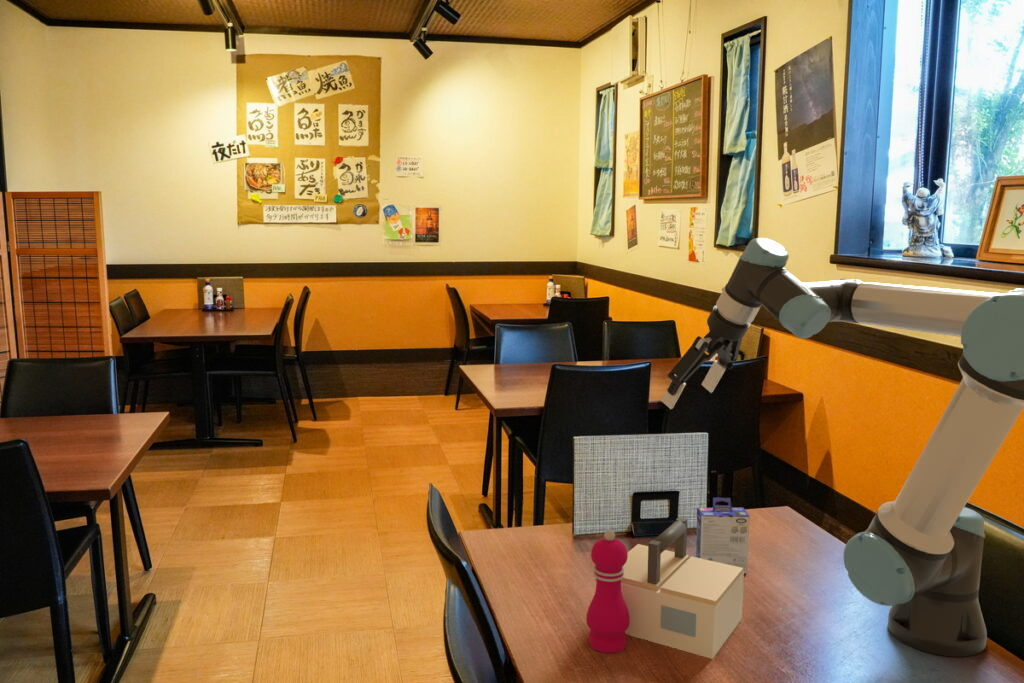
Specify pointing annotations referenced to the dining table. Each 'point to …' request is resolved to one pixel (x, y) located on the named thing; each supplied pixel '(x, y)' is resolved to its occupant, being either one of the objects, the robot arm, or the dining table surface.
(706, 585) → the carton
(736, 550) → the ink cartridge box
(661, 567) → the flap
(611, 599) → the pepper mill
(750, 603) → the dining table surface
